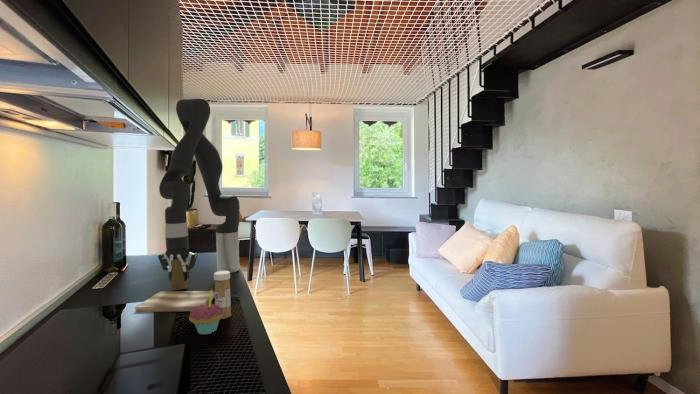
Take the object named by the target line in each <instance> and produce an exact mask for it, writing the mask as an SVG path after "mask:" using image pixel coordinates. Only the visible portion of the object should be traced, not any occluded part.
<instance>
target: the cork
mask: <svg viewBox="0 0 700 394" xmlns="http://www.w3.org/2000/svg"><path fill="white" fill-rule="evenodd" d="M185 262H186V260H185V261H184V263H185ZM181 265H182V262H181V260H179V259H173V260H172V261H171V266H172V278H171V280H170V290H173V291H176V290H177V291H181V290H184V289H187V288H188V287H189V285H190V284H189V279H188V280H186V282H185V281H184V275H183V272H184V271H183V269H182V266H181Z"/></svg>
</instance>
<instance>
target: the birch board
mask: <svg viewBox="0 0 700 394" xmlns="http://www.w3.org/2000/svg"><path fill="white" fill-rule="evenodd" d="M210 291H211V290H202V291H201V290H190V291H189V290H185V291H184V290H177V291H176V290H173V291H171V290H170V291H165V290H163V291H158V292H157V293H156V294H154V295H152V296H151V297H149V298H147V299H146V300H144V301H143V302H140V303H139V304H138V305H136V306H134V308H135V312H136V313H138V312H139V313H141V312H142V313H144V312H147V313H148V312H157V313H158V312H192V310H193V309H195V308H196V307H197V306H200V305H207V304H209V296H210ZM212 291H213V292H212V300H213V299H214V300H215V290H212Z"/></svg>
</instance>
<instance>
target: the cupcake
mask: <svg viewBox="0 0 700 394" xmlns="http://www.w3.org/2000/svg"><path fill="white" fill-rule="evenodd" d="M209 291H210V296H209V303H208V304H207V305H200V306H197V307H196V308H195V309H193V310H192V311H190V313H189V317H188V320H189V322H190V323H193V324H194V326H195V328H196V332H197V333H198V334H199V335H210V334H213V333H215V332H216V331H217V329H218V326H219V324H220V323H219V322H220V320H221V319H220V318H222V315H223V310H222V309H221V307H219V306H217V305H215V303H212V301H213V299H212V292H213V291H214V290H213V288H211V289H210V290H209ZM214 331H215V332H214ZM212 332H213V333H212Z"/></svg>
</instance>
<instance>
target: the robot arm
mask: <svg viewBox="0 0 700 394" xmlns="http://www.w3.org/2000/svg"><path fill="white" fill-rule="evenodd" d="M175 111H176V115H177V117H178V120H179V122H180V125H181V126H182V129H183V130H184V132H185V133H184V135H183V136H182V137H181V139H180V140H179V141H178V143H177V144H176V146H175V148H174V150H173V152H172V156H171V159H170V163H169V167H168V168H167V170H166V172H165V174H164V175H163V177H162V178H161V181H160V184H159V187H158V188H159V189H158V190H159V191H158V192H159V194H160V197H162V198H163V199H165V200H172V202H171V206H167V207H166V208H165V211H164V218H165V219H164V220H165V223H164V224H165V226H164V232H165V233H164V235H165V248H166V250H165V252H163V253H161V254H158V256H157V258H158V260H159V264H160V265H161V267H162V270H163V271H167V272H168V278H169V279H168V280H169V281H171V278H172V266H171V261H172V260H173V259H179V260H181V262H182V265H181V266H182V269H183V271H184V272H183V275H184V281H185V282H186V280H188V281H189V279H190V271H191V270H192V269H195V265H196V261H197V258H198V253H197V252H195V253H193V252H191V250H190V246H189V245H190V244H189V227H188V220H187V219H188V215H187V208H188V205H189V201H190V195H191V189H190V185H189V184H188V182H186V181H185V180H182V178H183V177H185V176H188V175H189V174H190V173H191V172H190V171H191V169H192V166H193V165H192V164H193V161H194V158H195V161H196V164H197V167H198V169H199V172H200V174H201V178H202V181H203V183H204V187H205V191H206V194H207V199H208V202H209V203H208V205H209V208H210V210H211V211H212V214H213V215H214V216H216V217H225V220H224V222H222V223H221V224H217V225H216V227H215V243H216V244H215V245H216V268H217V269H216V270H217V271H216V272H218V271H229V272H230V274H232V273H235V272H238V271H240V249H239V248H240V246H239V245H240V244H239V243H240V242H239V241H240V240H239V227H240V200H239V198H238V197H237V196H236V195H233V194H228V195H227V194H222V193H221V190H220V189H221V188H220V185H219V183H220V179H221V175H222V172H223V168H224V167H223V162H222V159H221V155H220V153H219V150H217V148H216V147H215V145H214V144H213V143H212V141H210V140H209V138H207V136H206V135H205V134H204V132H205V129H206V127H207V123H208V122H209V120H210V116H211V106H210V104H209V102H208V101H207V100H206V99H205V98H202V97H192V98H191V97H189V98H188V97H187V98H180V99H179V100H177V102H176V105H175ZM188 257H189V261H188ZM167 258H168V259H167ZM168 260H169V261H168ZM185 260H186V262H185V263H184V261H185Z"/></svg>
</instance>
